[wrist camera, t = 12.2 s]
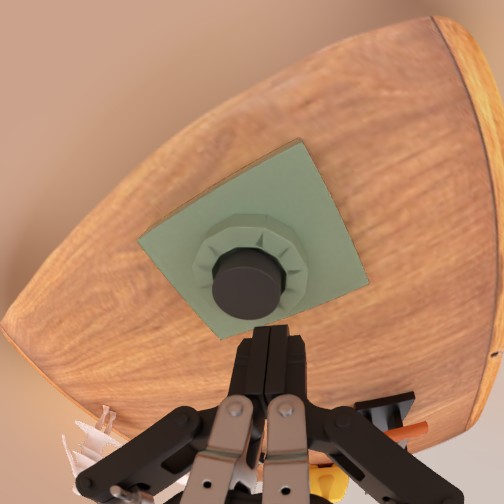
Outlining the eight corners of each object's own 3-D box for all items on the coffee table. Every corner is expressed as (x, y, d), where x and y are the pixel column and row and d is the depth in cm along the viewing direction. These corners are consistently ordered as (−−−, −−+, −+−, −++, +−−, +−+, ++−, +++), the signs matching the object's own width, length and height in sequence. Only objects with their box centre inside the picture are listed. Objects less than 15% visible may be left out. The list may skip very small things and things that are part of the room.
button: (206, 264, 16) (198, 283, 14) (260, 238, 14) (257, 255, 13) (240, 308, 17) (235, 328, 15) (292, 287, 16) (292, 307, 14)
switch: (379, 426, 20) (383, 443, 18) (424, 415, 19) (430, 431, 17) (365, 477, 23) (366, 491, 21) (401, 469, 22) (404, 483, 20)
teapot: (299, 458, 41) (296, 505, 32) (355, 454, 39) (356, 500, 30) (299, 475, 50) (297, 511, 40) (343, 472, 48) (343, 508, 38)
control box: (149, 226, 19) (123, 254, 16) (299, 137, 15) (304, 145, 11) (225, 321, 23) (215, 357, 19) (362, 266, 19) (376, 301, 15)
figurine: (71, 386, 38) (31, 466, 21) (99, 389, 35) (56, 485, 18) (114, 423, 44) (86, 496, 26) (146, 428, 41) (117, 512, 24)
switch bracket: (354, 402, 28) (361, 488, 18) (413, 391, 27) (430, 471, 16) (348, 431, 33) (351, 498, 23) (397, 422, 31) (406, 487, 21)
